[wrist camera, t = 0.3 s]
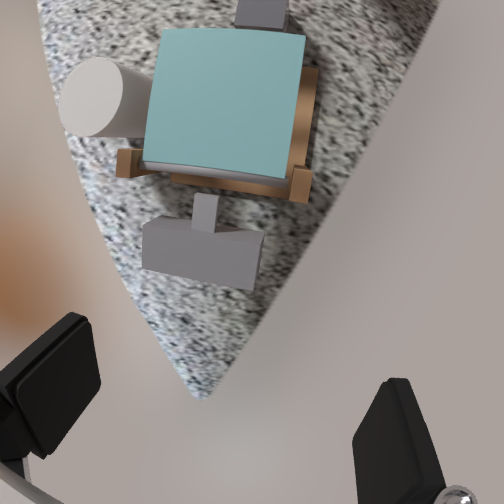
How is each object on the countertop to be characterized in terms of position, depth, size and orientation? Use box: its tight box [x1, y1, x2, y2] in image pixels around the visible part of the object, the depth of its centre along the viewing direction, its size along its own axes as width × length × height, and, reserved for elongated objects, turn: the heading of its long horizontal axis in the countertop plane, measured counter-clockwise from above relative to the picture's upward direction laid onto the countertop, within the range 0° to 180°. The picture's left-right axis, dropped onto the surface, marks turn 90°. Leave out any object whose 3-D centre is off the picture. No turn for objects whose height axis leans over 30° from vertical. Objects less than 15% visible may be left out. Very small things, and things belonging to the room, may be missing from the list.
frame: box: [116, 66, 319, 204], centre depth 28 cm, size 16×16×14 cm
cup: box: [58, 57, 153, 138], centre depth 29 cm, size 8×8×12 cm
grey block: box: [234, 0, 290, 33], centre depth 27 cm, size 5×5×6 cm
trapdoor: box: [139, 28, 306, 291], centre depth 25 cm, size 21×13×4 cm, turn 170°
